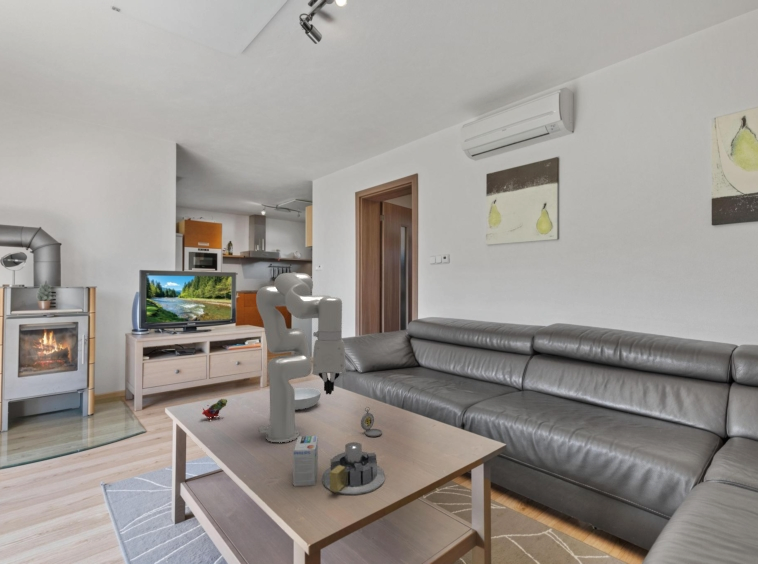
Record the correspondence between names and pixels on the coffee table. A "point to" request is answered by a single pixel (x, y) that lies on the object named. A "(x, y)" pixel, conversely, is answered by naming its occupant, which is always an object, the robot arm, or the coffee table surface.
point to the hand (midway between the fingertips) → (328, 392)
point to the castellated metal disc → (352, 471)
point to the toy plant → (215, 408)
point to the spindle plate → (356, 488)
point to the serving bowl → (306, 397)
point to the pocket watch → (369, 425)
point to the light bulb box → (305, 461)
